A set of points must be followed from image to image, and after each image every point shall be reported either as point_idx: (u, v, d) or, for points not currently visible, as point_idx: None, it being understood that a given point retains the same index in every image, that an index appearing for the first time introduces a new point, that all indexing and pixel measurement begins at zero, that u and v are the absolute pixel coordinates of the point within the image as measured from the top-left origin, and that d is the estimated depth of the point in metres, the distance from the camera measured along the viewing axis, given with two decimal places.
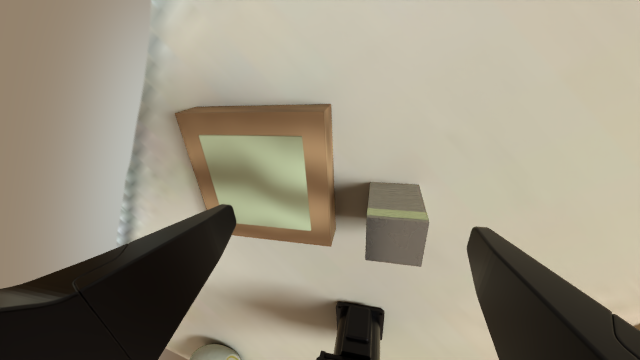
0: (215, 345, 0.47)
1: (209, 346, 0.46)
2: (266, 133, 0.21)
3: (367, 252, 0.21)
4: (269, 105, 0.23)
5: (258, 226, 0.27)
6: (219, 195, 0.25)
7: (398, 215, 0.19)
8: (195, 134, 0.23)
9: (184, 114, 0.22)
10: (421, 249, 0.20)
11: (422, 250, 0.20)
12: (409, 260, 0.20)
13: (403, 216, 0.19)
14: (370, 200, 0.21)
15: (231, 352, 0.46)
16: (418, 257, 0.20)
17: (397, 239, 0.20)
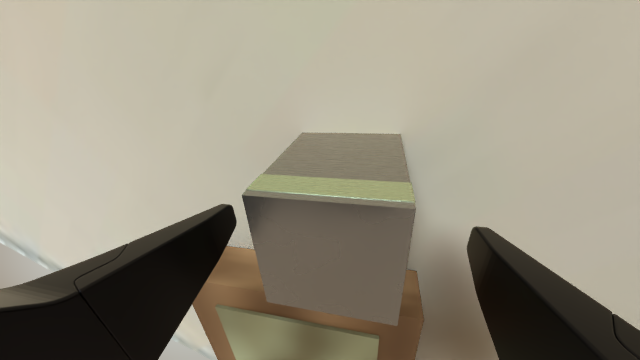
0: None
1: None
2: (225, 333, 0.17)
3: (369, 317, 0.08)
4: None
5: None
6: None
7: None
8: None
9: None
10: (338, 208, 0.06)
11: (341, 206, 0.06)
12: (389, 237, 0.06)
13: None
14: None
15: None
16: (372, 216, 0.06)
17: (313, 259, 0.07)
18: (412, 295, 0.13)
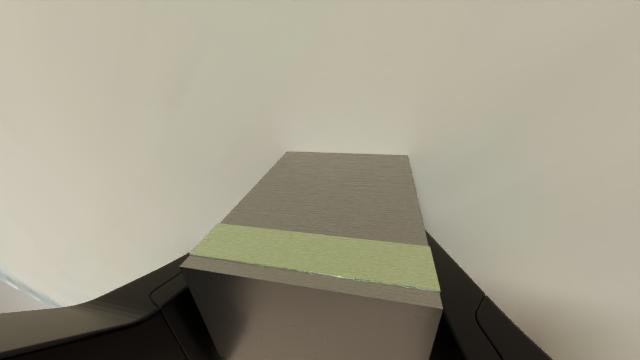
0: None
1: None
2: None
3: None
4: None
5: None
6: None
7: None
8: None
9: None
10: (319, 296, 0.04)
11: (324, 294, 0.04)
12: (398, 339, 0.04)
13: None
14: None
15: None
16: (372, 310, 0.04)
17: (288, 350, 0.05)
18: None
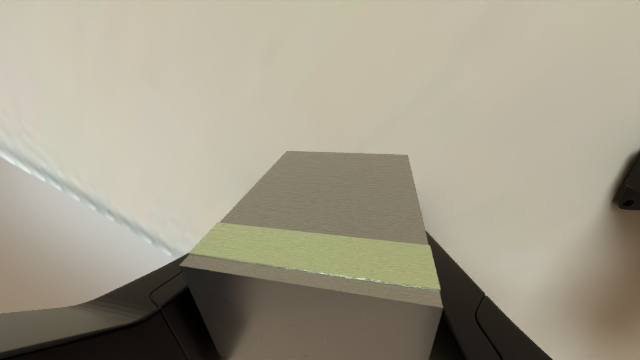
0: None
1: None
2: None
3: None
4: None
5: None
6: None
7: None
8: None
9: None
10: (319, 295, 0.04)
11: (324, 293, 0.04)
12: (398, 338, 0.04)
13: None
14: None
15: None
16: (373, 309, 0.04)
17: (288, 349, 0.05)
18: None
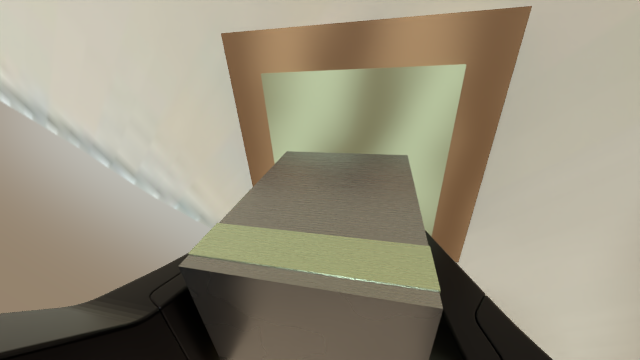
0: None
1: None
2: (267, 130, 0.15)
3: None
4: None
5: (448, 182, 0.14)
6: None
7: None
8: None
9: None
10: (319, 296, 0.04)
11: (323, 294, 0.04)
12: (398, 339, 0.04)
13: None
14: None
15: None
16: (372, 310, 0.04)
17: (288, 350, 0.05)
18: None
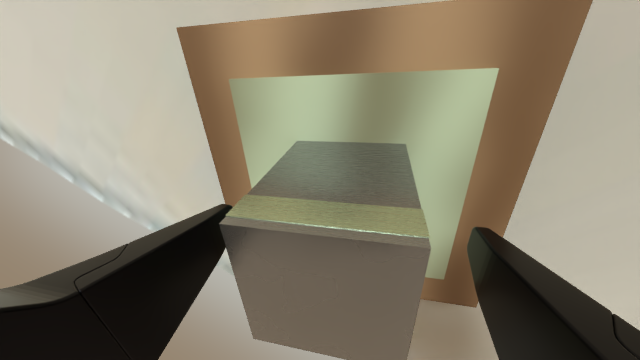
0: None
1: None
2: (241, 149, 0.12)
3: None
4: None
5: (467, 216, 0.11)
6: None
7: None
8: None
9: None
10: (334, 244, 0.05)
11: (338, 241, 0.05)
12: (396, 279, 0.05)
13: None
14: None
15: None
16: (376, 254, 0.05)
17: (305, 297, 0.06)
18: None
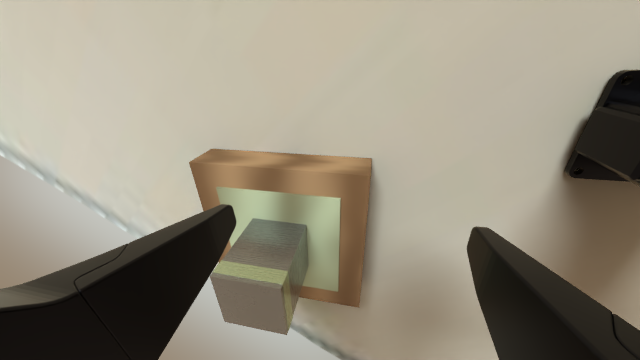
0: None
1: None
2: None
3: (274, 330, 0.16)
4: None
5: (343, 259, 0.20)
6: None
7: None
8: None
9: None
10: (251, 285, 0.15)
11: (252, 285, 0.14)
12: (273, 298, 0.15)
13: None
14: None
15: None
16: (265, 289, 0.14)
17: (244, 303, 0.16)
18: (365, 167, 0.18)
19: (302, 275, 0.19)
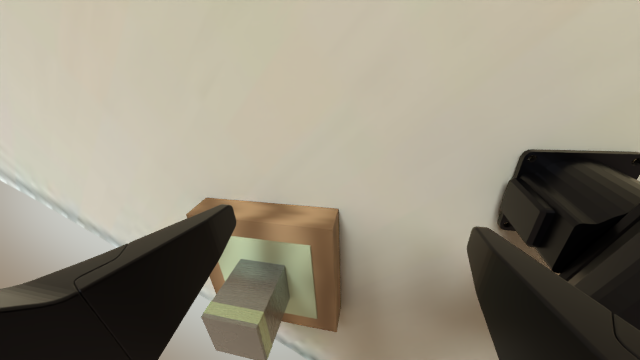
0: None
1: None
2: None
3: (255, 358, 0.20)
4: None
5: (318, 292, 0.24)
6: (285, 310, 0.26)
7: None
8: None
9: None
10: (233, 325, 0.18)
11: (234, 324, 0.18)
12: (251, 334, 0.18)
13: None
14: None
15: None
16: (244, 328, 0.18)
17: (229, 337, 0.19)
18: (330, 219, 0.21)
19: (282, 308, 0.23)
